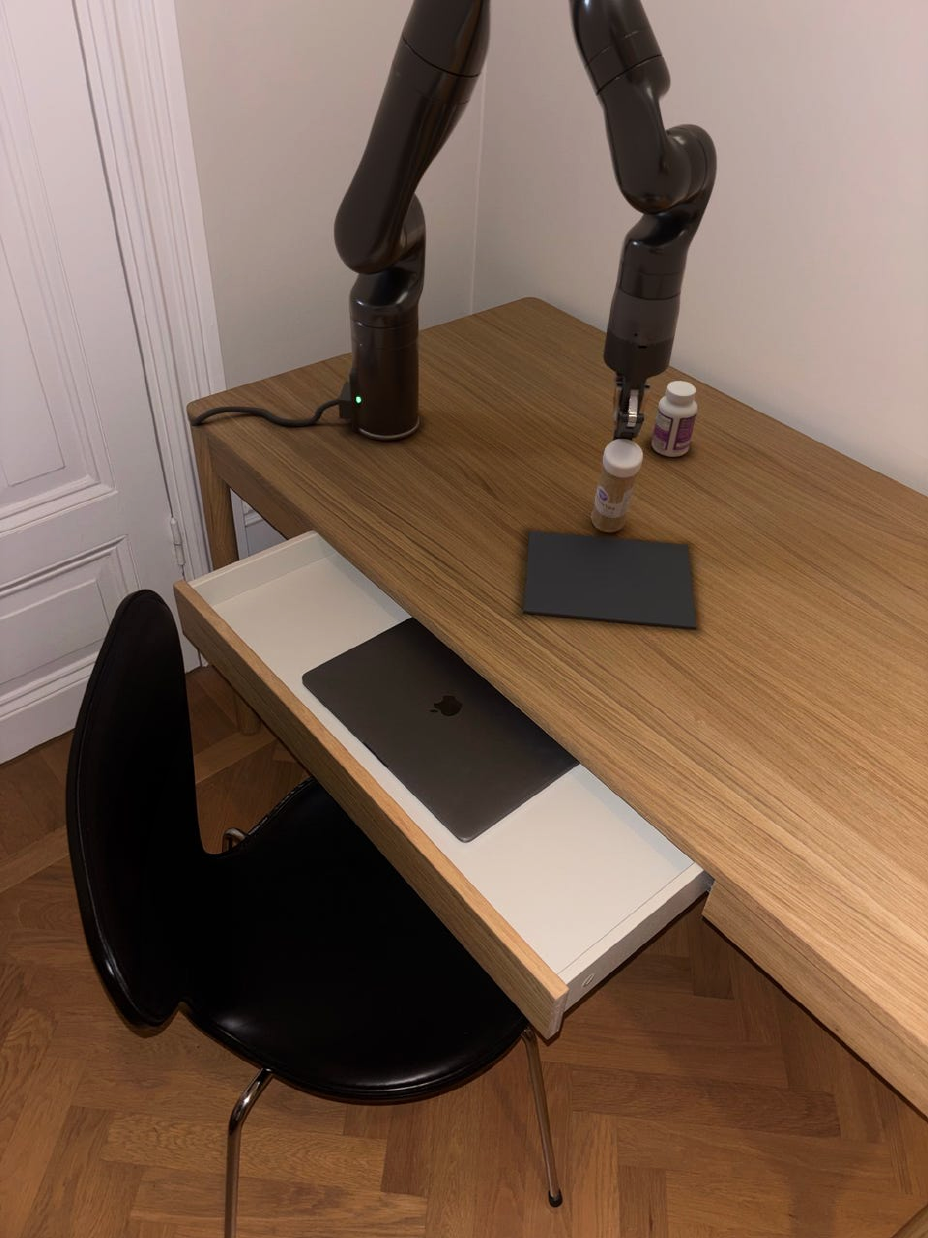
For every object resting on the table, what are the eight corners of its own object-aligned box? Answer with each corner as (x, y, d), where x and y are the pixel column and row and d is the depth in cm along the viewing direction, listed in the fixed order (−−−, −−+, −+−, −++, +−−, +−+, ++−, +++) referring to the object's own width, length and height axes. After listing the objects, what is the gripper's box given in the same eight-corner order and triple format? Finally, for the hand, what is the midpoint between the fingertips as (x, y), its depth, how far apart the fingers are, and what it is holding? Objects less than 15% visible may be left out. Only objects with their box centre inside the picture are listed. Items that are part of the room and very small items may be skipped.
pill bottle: (687, 438, 138) (700, 379, 131) (689, 459, 134) (703, 399, 127) (649, 435, 138) (661, 376, 131) (651, 456, 134) (663, 396, 128)
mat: (522, 613, 110) (523, 610, 110) (529, 533, 121) (529, 530, 121) (695, 629, 109) (696, 627, 109) (687, 547, 120) (687, 544, 120)
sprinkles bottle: (583, 521, 122) (596, 453, 111) (604, 499, 124) (619, 431, 112) (612, 540, 121) (628, 474, 109) (633, 518, 123) (651, 450, 111)
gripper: (607, 296, 110) (589, 424, 122) (609, 350, 101) (589, 484, 113) (672, 300, 110) (647, 429, 122) (680, 356, 100) (652, 489, 112)
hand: (619, 455), depth 117 cm, fingers closed
